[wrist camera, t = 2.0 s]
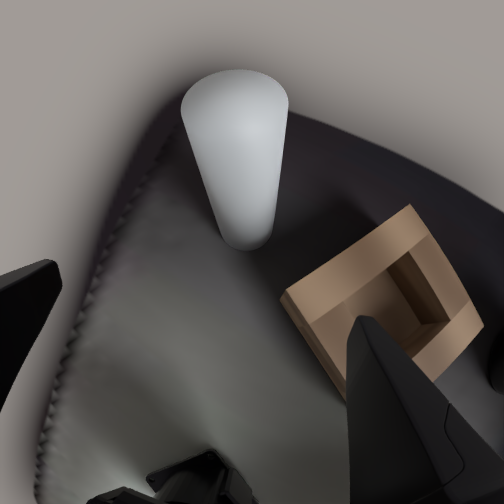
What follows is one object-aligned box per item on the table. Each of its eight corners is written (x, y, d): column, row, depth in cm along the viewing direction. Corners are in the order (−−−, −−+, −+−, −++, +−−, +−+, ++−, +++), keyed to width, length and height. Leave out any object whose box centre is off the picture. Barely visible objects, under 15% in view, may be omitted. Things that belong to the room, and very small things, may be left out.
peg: (237, 261, 22) (211, 161, 9) (210, 218, 23) (165, 95, 10) (283, 233, 22) (310, 113, 10) (254, 192, 23) (251, 59, 11)
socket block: (352, 411, 19) (377, 429, 14) (279, 300, 21) (285, 289, 16) (446, 330, 20) (484, 325, 15) (382, 229, 22) (409, 203, 18)
